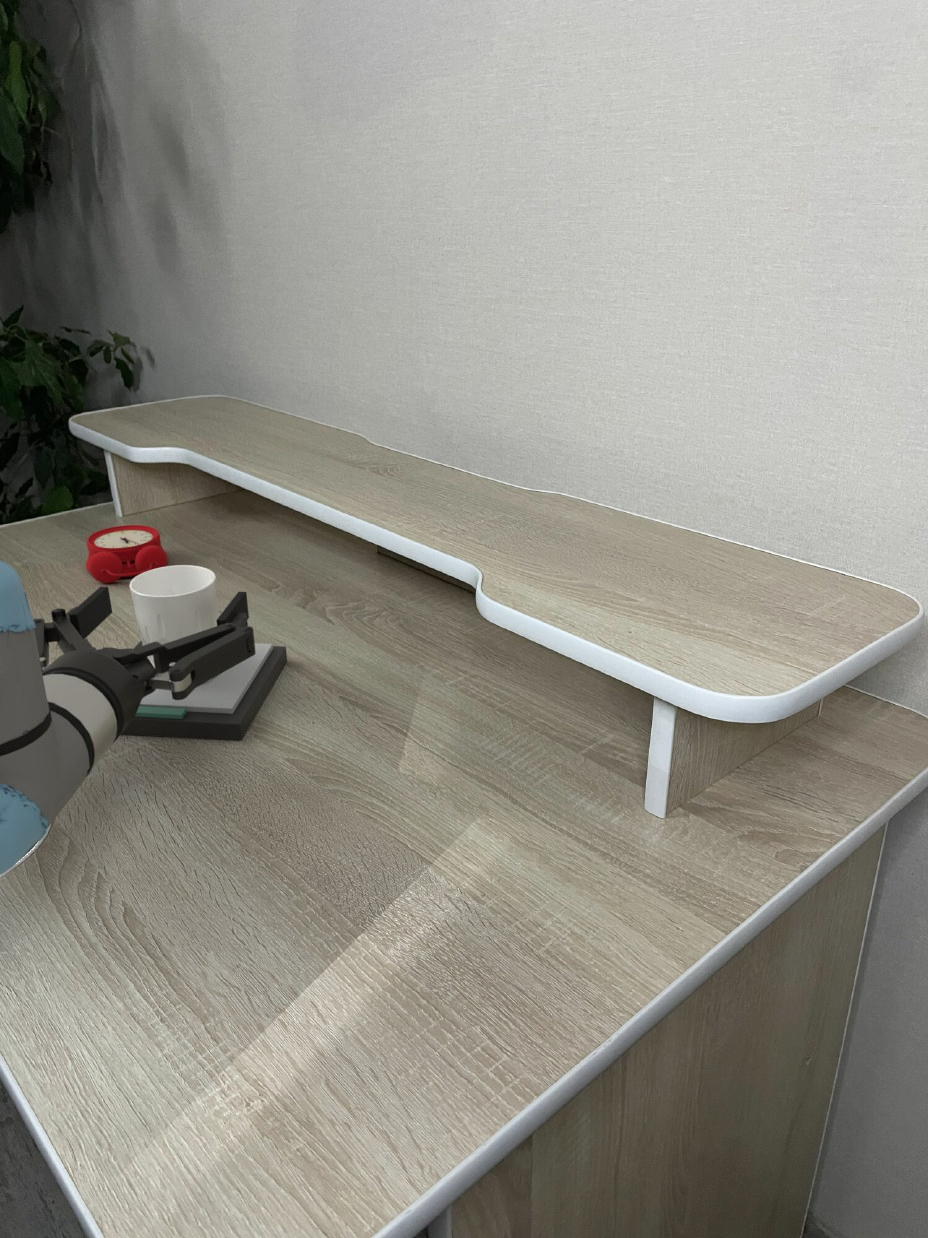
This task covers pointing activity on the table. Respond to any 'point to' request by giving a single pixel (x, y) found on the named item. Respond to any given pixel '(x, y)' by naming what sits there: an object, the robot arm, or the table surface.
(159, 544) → the alarm clock
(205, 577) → the white cup
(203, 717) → the scale
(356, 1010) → the table surface
